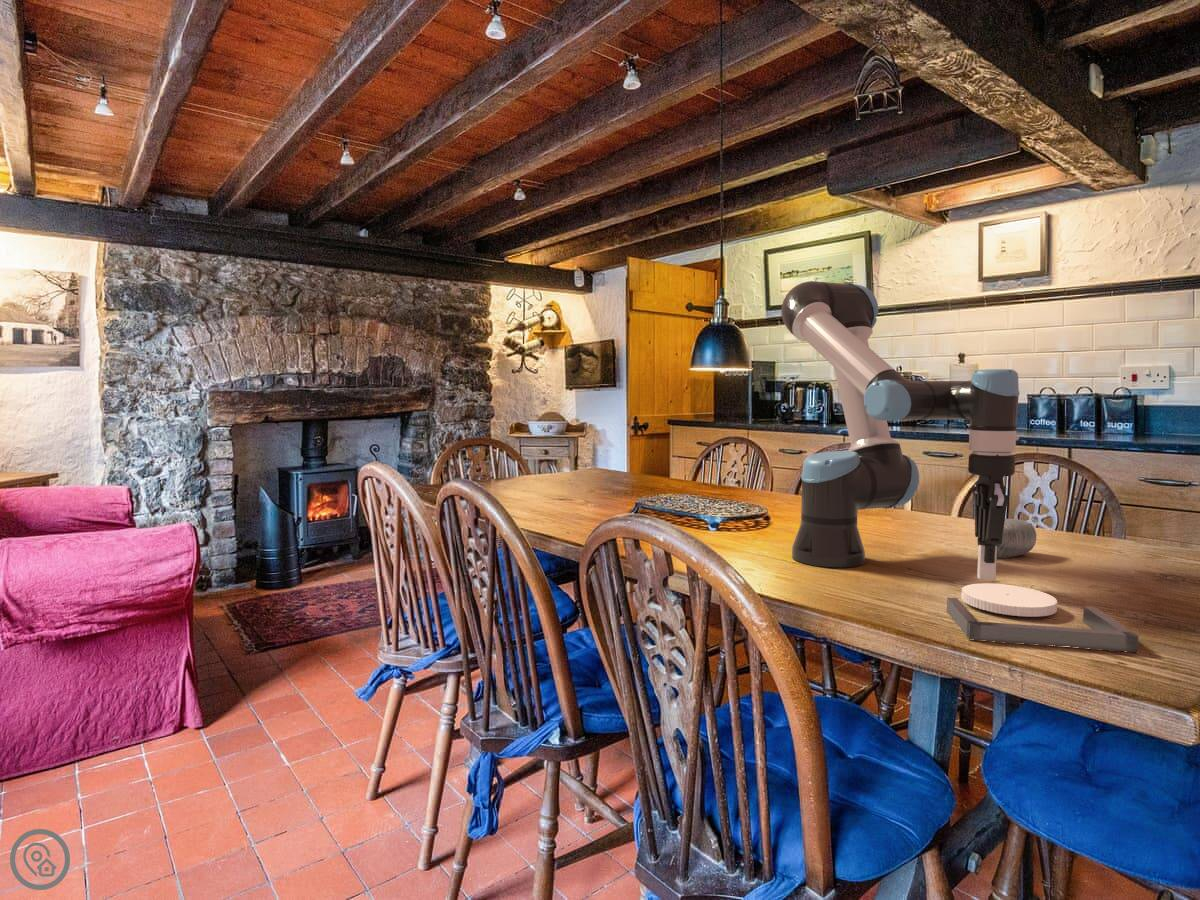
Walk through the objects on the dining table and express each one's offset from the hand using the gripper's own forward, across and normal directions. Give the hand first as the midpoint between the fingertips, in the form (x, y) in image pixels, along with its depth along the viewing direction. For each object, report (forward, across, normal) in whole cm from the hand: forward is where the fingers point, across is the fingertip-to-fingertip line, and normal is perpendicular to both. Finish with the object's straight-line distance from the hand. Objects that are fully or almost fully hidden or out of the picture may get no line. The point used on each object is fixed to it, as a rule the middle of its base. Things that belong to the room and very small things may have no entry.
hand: (986, 578), depth 130 cm
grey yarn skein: (+2, +28, -12) cm, 31 cm away
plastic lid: (+2, -12, 0) cm, 13 cm away
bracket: (+2, -24, 0) cm, 25 cm away
